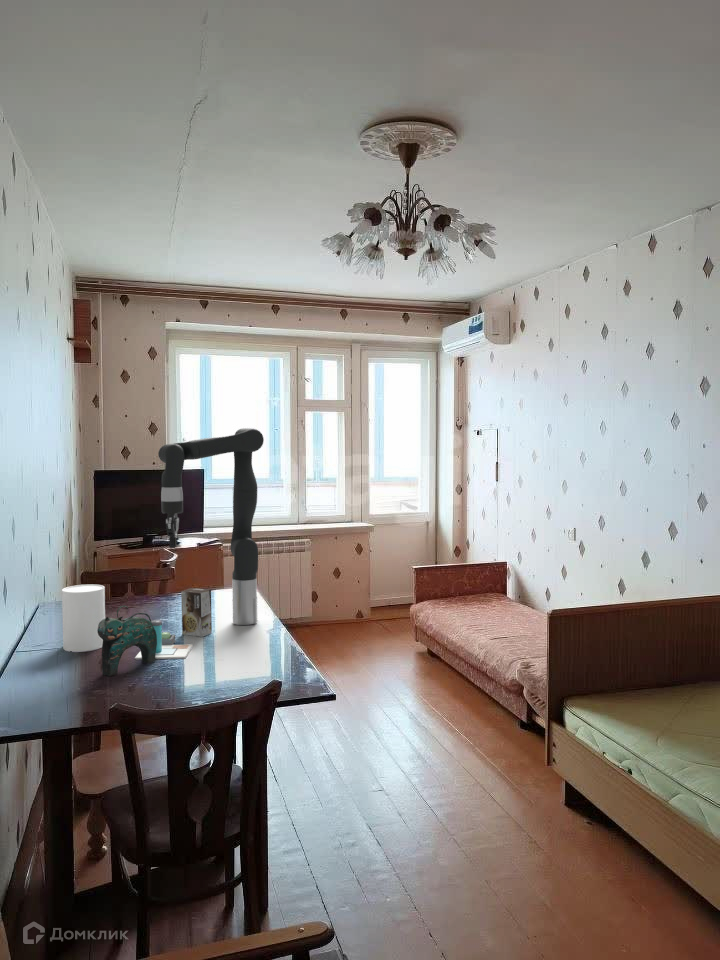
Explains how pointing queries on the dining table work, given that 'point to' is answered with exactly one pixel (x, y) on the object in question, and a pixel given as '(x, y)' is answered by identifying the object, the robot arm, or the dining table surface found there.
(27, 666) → the dining table surface
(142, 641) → the ceramic cat
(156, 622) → the teal capped bottle
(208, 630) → the coffee box
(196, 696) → the dining table surface
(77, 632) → the canister
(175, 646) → the sheet
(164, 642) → the button housing
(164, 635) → the button
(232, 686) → the dining table surface
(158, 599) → the dining table surface
